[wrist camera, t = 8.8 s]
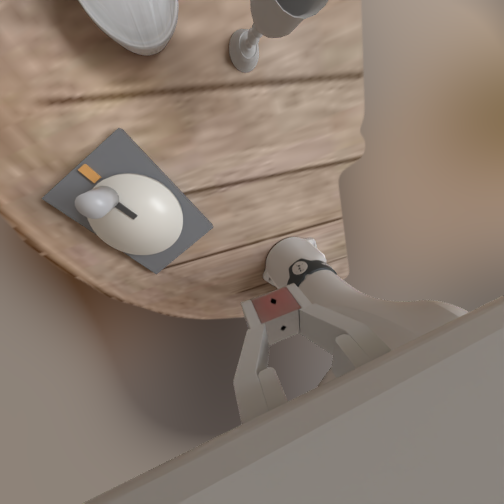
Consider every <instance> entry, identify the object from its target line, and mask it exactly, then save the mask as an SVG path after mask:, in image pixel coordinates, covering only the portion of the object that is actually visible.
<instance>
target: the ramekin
mask: <svg viewBox="0 0 504 504" xmlns="http://www.w3.org/2000/svg"><path fill="white" fill-rule="evenodd" d="M78 1H79V3H80V4H81V6H82V7H83V9H84V10H85V11H86V13H87V14H88V15H89V17H90V18H91V19H92V20H93V21H94V23H95V24H96V25H97V26H98V27H99V28H100V29H101V30H102V31H103V32H104V33H105V34H107V35H108V36H109V37H110V38H112V39H113V40H114V41H116V42H117V43H119V44H120V45H121V46H123V47H125V48H126V49H127V50H129V51H131V52H133V53H136V54H139V55H148V56H149V55H154V54H156V53H158V52H160V51H161V50H162V49H164V47H165V46H166V45H167V43H168V41H169V40H170V39H171V37H172V35H173V33H174V31H175V28H176V24H177V19H178V0H78Z"/></svg>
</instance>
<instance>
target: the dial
mask: <svg viewBox="0 0 504 504" xmlns="http://www.w3.org/2000/svg"><path fill="white" fill-rule="evenodd" d="M75 207H76V209H77V210H78V212H79V213H81V214H82V215H83V216H85V217H87V218H88V221H89V224H90V226H91V227H92V229H93V231H94V232H95V233H96V234H97V236H98V237H99V238H100V239H102V240H103V241H104V242H105V243H107V244H108V245H110V246H111V247H113V248H115V249H117V250H119V251H122V252H125V253H129V254H134V255H151V254H156V253H159V252H162V251H164V250H166V249H168V248H169V247H171V246H172V245H173V244H174V243H175V242H176V241H177V239H178V238H179V236H180V234H181V231H182V227H183V213H182V209H181V206H180V203H179V201H178V200H177V198H176V196H175V195H174V194H173V193H172V191H170V190H169V189H168V188H167V187H166V186H165V185H164V184H162V183H161V182H159V181H157V180H155V179H153V178H151V177H148V176H146V175H141V174H136V173H123V174H117V175H114V176H111V177H109V178H106V179H104V180H102V181H101V182H99V183H98V184H97V185H96V186H95V187H94V188H93V189H92V190H90V191H87V192H85V193H83V194H81V195H79V196H77V198H76V199H75Z"/></svg>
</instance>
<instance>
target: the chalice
mask: <svg viewBox="0 0 504 504" xmlns="http://www.w3.org/2000/svg"><path fill="white" fill-rule="evenodd" d="M250 1H251V13H252V18H253V22H254V23H253V25H252V28H250V29H249V30H248V29H239V30H236V31H235V32H234V33H233V35H232V37H231V39H230V43H229V54H230V57H231V61H232V62H233V64H234V66H235V67H236V68H237V69H238V70H239V71H241V72H250V71H252V70H253V69H254V68H255V66H256V64H257V62H258V57H259V48H258V42H259V38H261V37H262V35H264V36H266V37H268V38H279V37H283V36H286V35H288V34H290V33H291V32H292V31H293V30H294V29H295V28H296V27H297V26H298V25H299V24H300V23H301V21H302V20H303V19H306V18H308V17H311V16H313V15H316V14H317V13H318V12H319V11H320V10H321V9H322V8H323V7H324V6H325V5H326V3H327V1H328V0H250Z"/></svg>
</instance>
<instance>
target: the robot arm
mask: <svg viewBox="0 0 504 504" xmlns="http://www.w3.org/2000/svg"><path fill="white" fill-rule="evenodd" d="M263 279H264V280H265V281H267V282H269V283H270V284H272V285H273V286H275V287H277V288H278V289H276V290H274V291H271V292H269V293H266V294H263V295H261V296H258V297H255V298H252V299H249V300H246V301H243V302H241V306H242V309H243V313H244V316H245V320H246V323H247V326H248V329H249V330H247V333H246V337H245V341H244V344H243V348H242V352H241V355H240V359H239V363H238V367H237V370H236V374H235V377H234V381H233V383H234V388H235V393H236V398H237V403H238V408H239V413H240V417H241V423H242V425H240V426H238V427H236V428H234V429H232V430H230V431H228V432H226V433H224V434H222V435H220V436H218V437H216V438H214V439H212V440H210V441H207V442H206V443H203V444H201V445H199V446H198V447H196V448H193V449H191V450H189V451H187V452H185V453H183V454H181V455H179V456H177V457H175V458H174V459H171V460H169V461H167V462H165V463H163V464H161V465H159V466H157V467H155V468H153V469H151V470H149V471H147V472H145V473H143V474H141V475H139V476H137V477H135V478H133V479H131V480H129V481H127V482H125V483H123V484H121V485H118V486H116V487H114V488H113V489H111V490H108V491H106V492H104V493H102V494H100V495H98V496H96V497H94V498H93V499H90V500H88V501H86V502H84V503H82V504H504V295H503V296H501V297H499V298H497V299H495V300H493V301H491V302H489V303H487V304H485V305H483V306H481V307H479V308H477V309H475V310H473V311H471V312H467V311H466V310H464V309H462V308H460V307H457V306H455V305H452V304H448V303H445V302H440V301H434V300H419V301H405V302H404V301H403V302H401V301H389V300H382V299H378V298H374V297H371V296H368V295H366V294H364V293H361V292H360V291H358V290H356V289H355V288H353V287H352V286H350V285H349V284H348V283H346V282H345V281H344V280H342V279H341V278H340V277H338V276H337V274H336V272H335V271H334V270H333V269H332V268H331V267H330V266H329V265H328V264H327V263H326V259H325V255H324V254H323V253H322V252H321V251H319V250H318V249H317V245H316V241H315V240H314V239H313V238H306V239H303V238H299V237H290V238H286V239H284V240H282V241H280V242H279V243H277V244H276V245H275V246H274V247H273V248H272V249H271V251H270V252H269V254H268V256H267V259H266V269H265V271H264V274H263ZM299 333H300V334H301V335H302V336H304V337H306V338H307V339H309V340H310V341H312V342H314V343H315V344H316V345H318V346H320V347H321V348H323V349H324V350H326V351H327V352H329V353H330V354H332V355H333V361H332V367H331V368H330V369H329V371H328V372H327V373H326V375H325V376H324V377H323V379H322V380H321V382H320V383H319V385H318V387H317V388H315V389H313V390H311V391H309V392H307V393H305V394H303V395H301V396H299V397H296V398H295V399H293V400H290V401H287V398H286V396H285V393H284V391H283V389H282V386H281V384H280V381H279V379H278V377H277V374H276V372H275V369H273V368H271V367H269V368H267V367H268V358H269V349H270V346H271V345H273V344H275V343H277V342H279V341H282V340H284V339H286V338H289V337H291V336H294V335H297V334H299Z"/></svg>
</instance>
